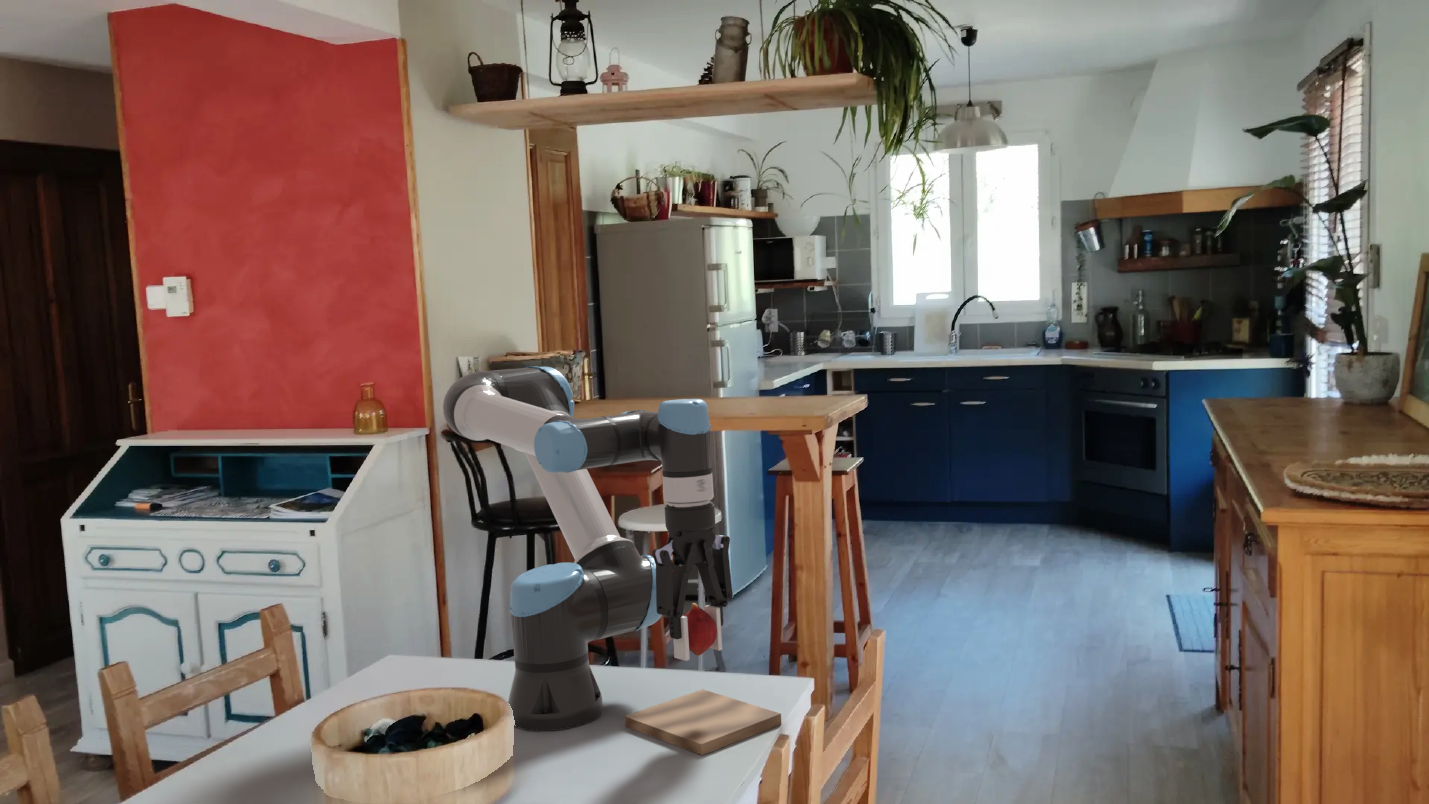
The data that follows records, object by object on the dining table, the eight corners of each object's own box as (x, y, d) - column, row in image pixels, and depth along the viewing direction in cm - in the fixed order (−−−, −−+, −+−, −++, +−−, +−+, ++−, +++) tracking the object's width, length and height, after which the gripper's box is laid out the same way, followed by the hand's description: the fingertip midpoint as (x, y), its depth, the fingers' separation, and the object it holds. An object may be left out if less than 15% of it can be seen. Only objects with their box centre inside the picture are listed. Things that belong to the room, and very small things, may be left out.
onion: (721, 649, 178) (718, 598, 177) (714, 661, 172) (710, 608, 172) (684, 649, 179) (681, 598, 179) (676, 660, 174) (672, 608, 173)
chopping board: (624, 726, 178) (624, 716, 178) (703, 698, 189) (702, 689, 189) (701, 755, 165) (701, 744, 164) (781, 723, 175) (780, 713, 175)
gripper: (655, 514, 165) (666, 673, 167) (751, 495, 177) (760, 643, 179) (624, 509, 171) (634, 664, 172) (719, 491, 183) (727, 635, 185)
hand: (698, 653), depth 176 cm, fingers closed on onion, 6 cm apart
